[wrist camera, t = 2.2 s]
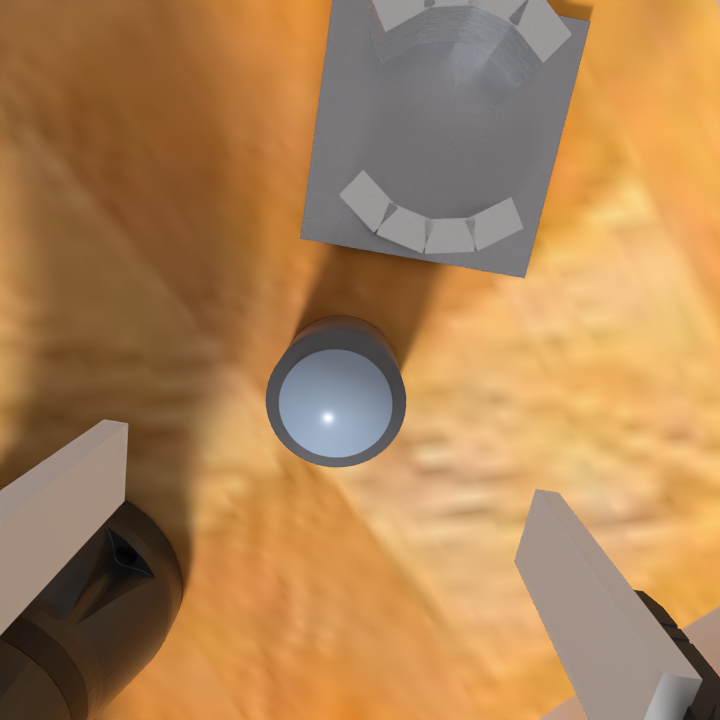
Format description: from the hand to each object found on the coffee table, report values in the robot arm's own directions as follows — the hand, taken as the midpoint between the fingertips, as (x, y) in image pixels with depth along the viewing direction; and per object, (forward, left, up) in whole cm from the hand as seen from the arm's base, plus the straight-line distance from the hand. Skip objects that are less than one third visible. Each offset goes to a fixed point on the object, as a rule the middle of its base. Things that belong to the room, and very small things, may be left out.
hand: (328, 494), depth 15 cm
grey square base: (+3, +14, -15) cm, 20 cm away
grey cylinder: (0, 0, -15) cm, 15 cm away
